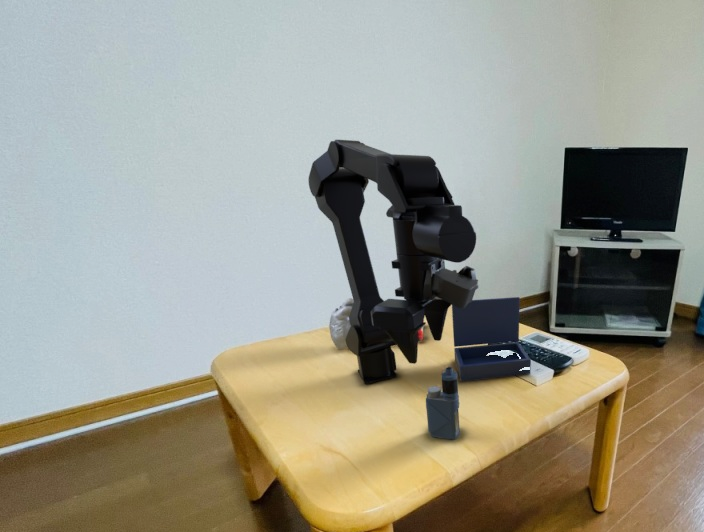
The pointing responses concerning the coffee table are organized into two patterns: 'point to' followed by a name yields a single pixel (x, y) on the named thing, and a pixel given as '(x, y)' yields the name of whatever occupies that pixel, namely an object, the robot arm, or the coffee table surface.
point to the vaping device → (444, 407)
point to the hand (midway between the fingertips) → (426, 350)
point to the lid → (486, 322)
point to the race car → (421, 333)
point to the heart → (340, 324)
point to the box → (490, 361)
